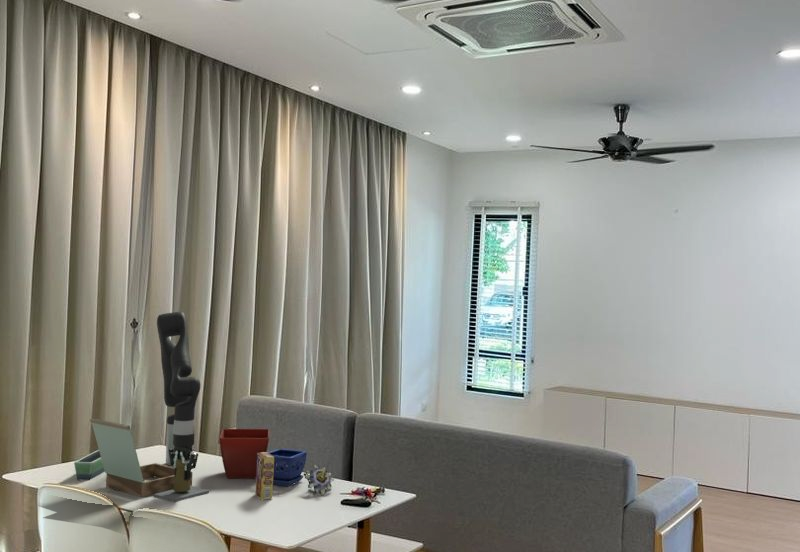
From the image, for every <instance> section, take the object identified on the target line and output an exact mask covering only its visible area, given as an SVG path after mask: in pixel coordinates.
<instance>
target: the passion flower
mask: <svg viewBox="0 0 800 552" xmlns="http://www.w3.org/2000/svg"><path fill="white" fill-rule="evenodd" d="M331 476H332V473H331V472H328V470H326V467H320V466H319V467H318V466H317V465H316V464H314V465H313V468H312V469H311V470H310V471H308V470H306V471H305V472H304V473H303V477H304V479H306V481H308V485H307V488H308V489H312V488H313V490H314V493H315V494H317V493H320V495H322V494H323V495H324V494H325V491H326V489H327V490H328V491H330V490H331V489H332V487H333V486H332V483H333V482H334V481H335V478H333V477H331Z"/></svg>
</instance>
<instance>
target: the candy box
mask: <svg viewBox="0 0 800 552" xmlns="http://www.w3.org/2000/svg"><path fill="white" fill-rule="evenodd" d="M273 471H274V457H273V456H272V455H271V454H269V453H268V451H267V452H261V453H257V469H256V478H255V495H256V496H257V497H258V498H259V499H260V500H262V499H267V500H272V499H273V488H274V485H273ZM271 498H272V499H271ZM262 501H263V500H262Z"/></svg>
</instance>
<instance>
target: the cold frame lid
mask: <svg viewBox="0 0 800 552" xmlns="http://www.w3.org/2000/svg"><path fill="white" fill-rule="evenodd" d="M89 420H90V421H89V422H90V423H91V424H92V429H93V432H94V436H95V437H94V438H95V439H96V444H97V446H98V450H99V452H100V455H101V459H102V463H103V467H104V470H105V472H104V473H105V474H111V475H115V476H119V477H122V478H126V479H130V480H134V481H138V482H142V483H143V482H145V481H144V480H145V479H143V476H142V472H141V468H140V466H141V465H140V461H139V457H138V453H137V450H136V446H135V442H134V438H133V435H132V434H133V433H132V429H131V426H130V425H128V424H123V423H117V422H114V421H113V422H112V421H108V420H104V419H103V420H102V419H98V418H90V419H89Z"/></svg>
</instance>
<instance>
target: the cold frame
mask: <svg viewBox="0 0 800 552" xmlns="http://www.w3.org/2000/svg"><path fill="white" fill-rule="evenodd" d="M140 468H141V472H142V476H143V480H146V479H151V478H156V479H152V480H147V481H144V482H143V483H142V482H138V481H134V480H130V479H126V478H122V477H119V476H115V475H111V474H107V473H105V474H106V475H105V476H106V479H105V483H106V484H105V487H106V488H108V489H109V488H110V489H112V488H113V490H116V491H119V492H120V491H121V492H124V493H128V494H131V495H133V496H134V495H135V496H138V497H141V498H146V497H150V496H154V494H157V493H161V492H165V491H169V490H173V489H174V483H175V475H174V474H175V468H174V466H170V465H166V464H161V463H157V462H155V463H149V464H144V465H140ZM190 486H193V471H191V478H190Z"/></svg>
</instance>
